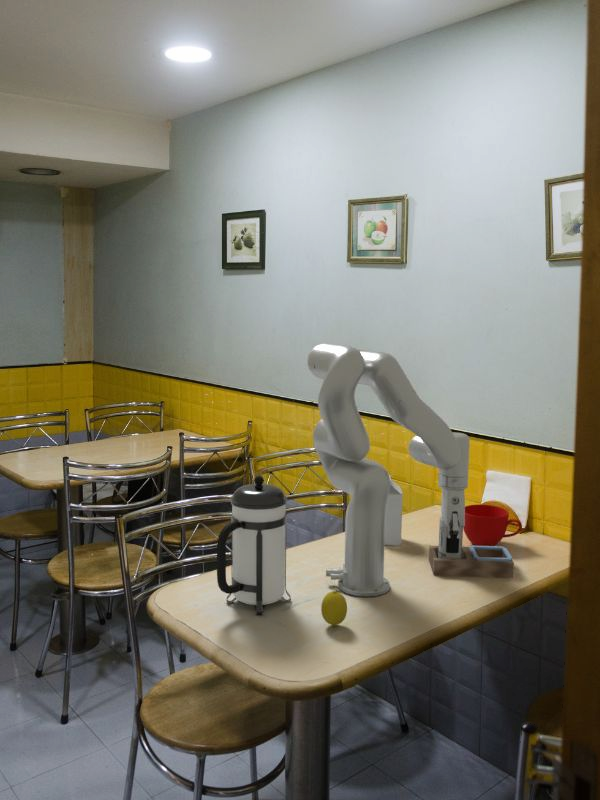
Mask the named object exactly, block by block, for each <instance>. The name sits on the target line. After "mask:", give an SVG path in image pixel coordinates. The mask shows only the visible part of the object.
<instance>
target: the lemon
mask: <svg viewBox="0 0 600 800" xmlns="http://www.w3.org/2000/svg"><path fill="white" fill-rule="evenodd" d="M320 606H321V607H320V608H321V616H322V618H323V620H324V621H325V622H326V623H328V624H329V625H331V626H332V627H336V626H337V625H339V624H341V623H343V622H344V621H345V619H346V617H347V613H348V603H347V600H346V598H345V596H344V595H343V594H342V593H340V592H338V591H337V590H332V591H330V592H327V594H325V596H324V597H323V599H322V602H321V605H320Z"/></svg>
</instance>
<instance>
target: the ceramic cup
mask: <svg viewBox="0 0 600 800" xmlns="http://www.w3.org/2000/svg"><path fill="white" fill-rule="evenodd" d="M509 515H510V514H509V511H508V510H507V509H505V508H503V507H500V506H496V505H493V504H492V505H491V504H471V505H470V504H469V505H465V526H464V527H463V533H464V534H465V536H466V539H468V541H469V542H470V543H471V546H498V544H499V543H500V542H501V541H502V540H503V539H504V538H511V537H515V536H516V535H518V534H519V533H520V532H521V531H522V527H523V524H522V522H521V521H520V520H519V519H517V518H511V519H509ZM511 523H517V524H518V529H517V530H516V531H514V532H512V533H507V534H506V532H507V529H508V526H509V525H510V524H511Z"/></svg>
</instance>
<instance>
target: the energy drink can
mask: <svg viewBox="0 0 600 800" xmlns="http://www.w3.org/2000/svg"><path fill="white" fill-rule="evenodd" d="M449 525H450V526H453V525H452V523H450V522H449ZM438 527H439V529H438V546H439V550H438V558H452V559H462V547H463V539H464V538H463V537H464V529H463V527H461V526H460V524H459V552H458V553H447V552H446V537H448V529H447V526H446V525H445V522H444V517H443V512H442V514H441V515H440V517H439V526H438ZM451 530H452V528H450V531H451Z"/></svg>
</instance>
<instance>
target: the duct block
mask: <svg viewBox="0 0 600 800" xmlns="http://www.w3.org/2000/svg"><path fill="white" fill-rule="evenodd" d="M438 550H439V545H429V546H428V562H429V566H430V569H431V572H432V575H433V576H438V575H442V576H441V577H472V578H473V577H474V578H475V577H477V578H479V577H481V578H503V579H505V578H507V579H508V578H509V579H510V578H512V579H513V578H514V574H515V573H514V569H515V562H514V560H513V559H514V558H513V556H512V554H511V553H510V552H509V550H508V548H507V547H505V546H503V545H502V546H501V545H499V546H498V545H496V546H474V545H470V546H462V559H452V558H438Z"/></svg>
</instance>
